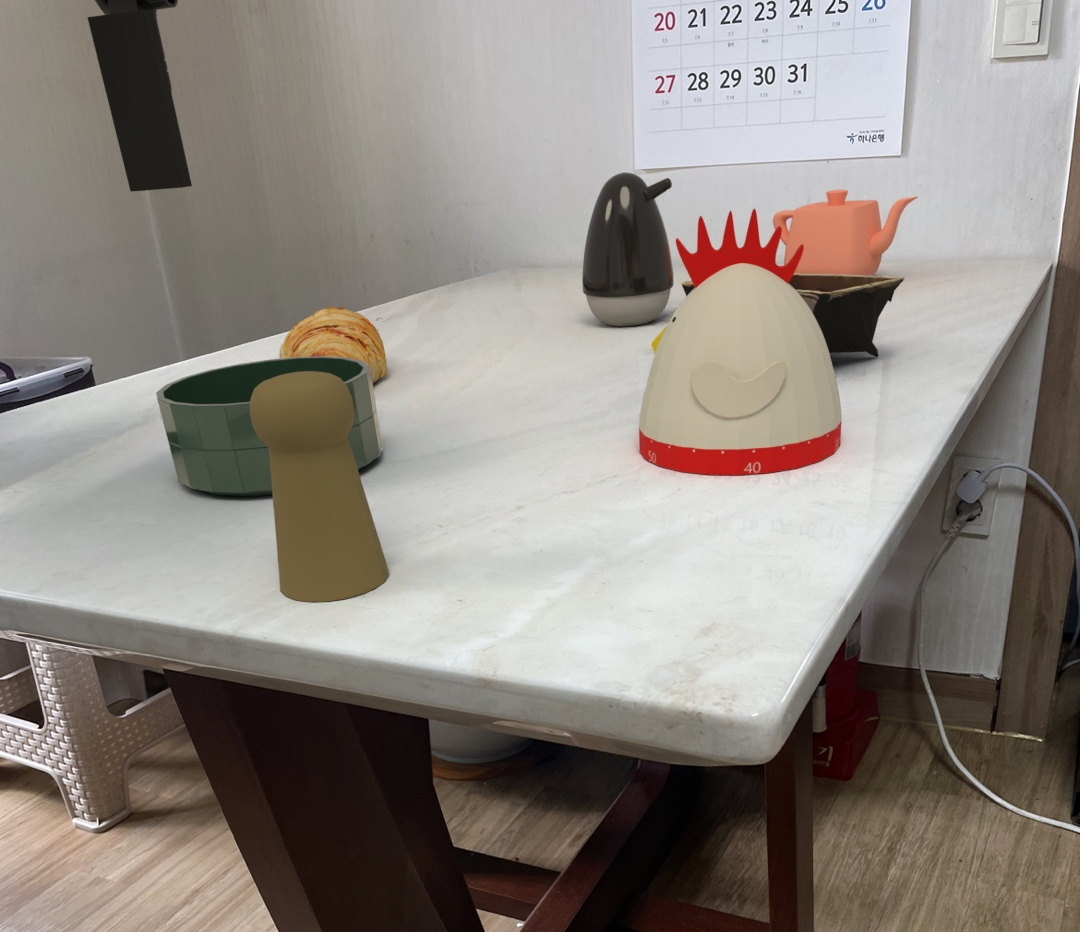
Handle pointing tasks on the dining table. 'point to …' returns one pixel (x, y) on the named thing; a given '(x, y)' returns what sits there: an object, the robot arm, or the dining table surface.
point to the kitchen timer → (740, 367)
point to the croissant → (337, 339)
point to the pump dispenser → (627, 253)
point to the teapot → (839, 234)
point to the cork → (316, 488)
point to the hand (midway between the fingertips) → (62, 204)
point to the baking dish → (843, 306)
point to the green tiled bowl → (250, 422)
